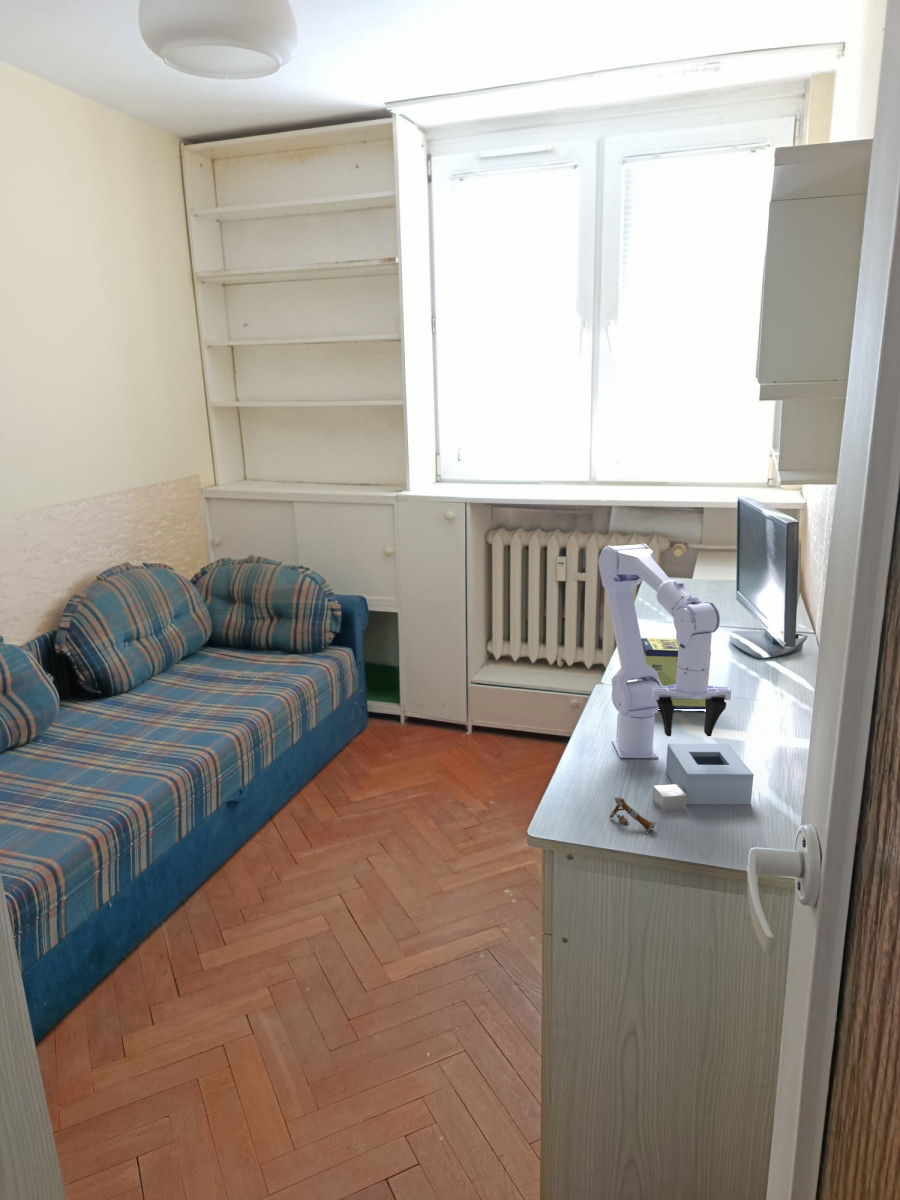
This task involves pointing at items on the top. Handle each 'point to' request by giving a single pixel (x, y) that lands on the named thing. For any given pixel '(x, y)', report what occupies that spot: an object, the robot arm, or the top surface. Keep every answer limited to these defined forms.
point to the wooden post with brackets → (633, 814)
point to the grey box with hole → (709, 774)
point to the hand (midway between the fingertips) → (687, 734)
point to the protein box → (668, 667)
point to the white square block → (669, 797)
